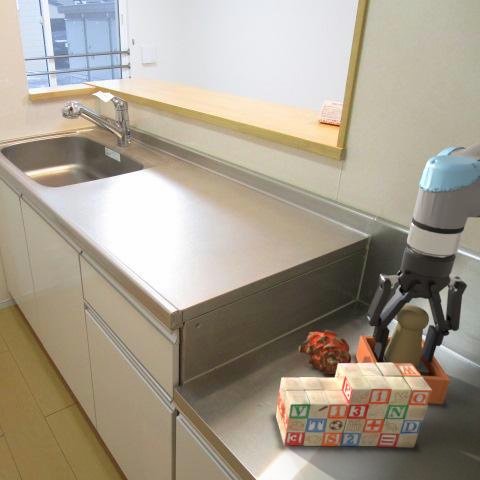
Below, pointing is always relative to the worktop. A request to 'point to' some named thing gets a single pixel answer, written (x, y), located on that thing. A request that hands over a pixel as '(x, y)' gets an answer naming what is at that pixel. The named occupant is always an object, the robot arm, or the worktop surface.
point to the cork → (407, 336)
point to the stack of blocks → (354, 406)
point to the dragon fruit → (326, 351)
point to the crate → (434, 379)
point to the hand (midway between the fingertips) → (402, 356)
